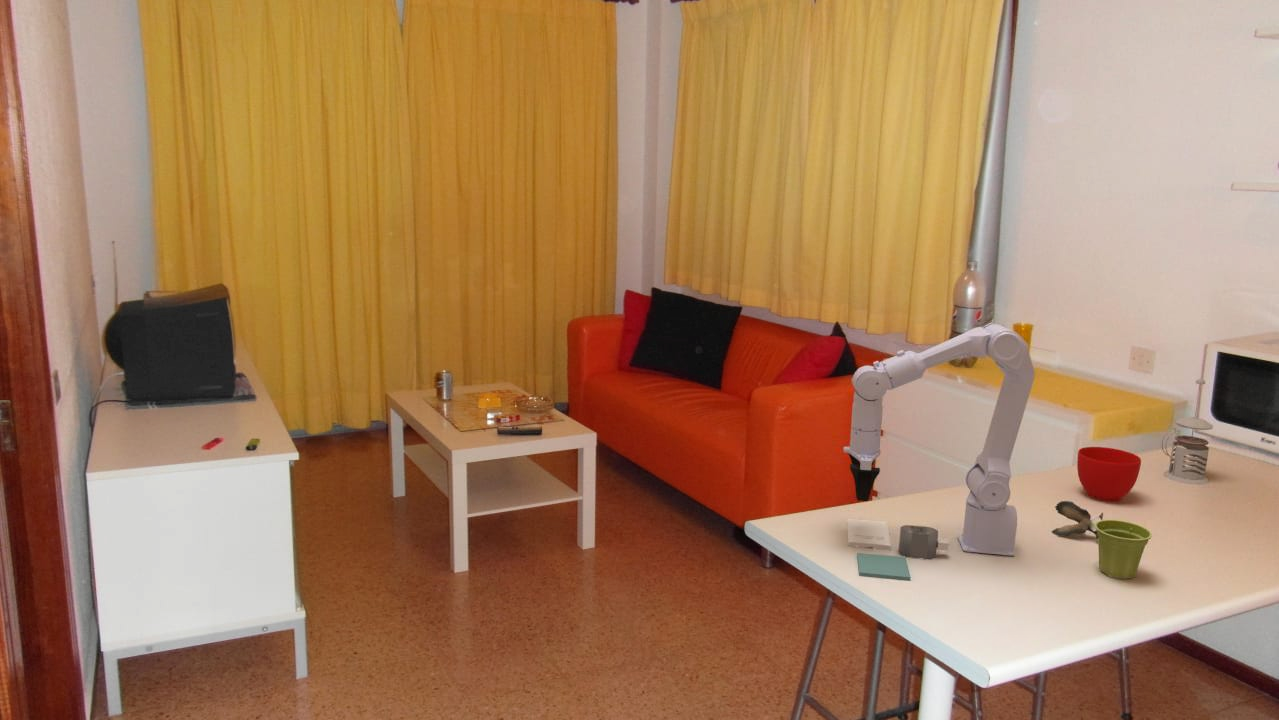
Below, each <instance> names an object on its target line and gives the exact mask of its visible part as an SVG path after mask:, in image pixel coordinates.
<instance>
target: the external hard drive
mask: <svg viewBox="0 0 1279 720" xmlns="http://www.w3.org/2000/svg"><path fill="white" fill-rule="evenodd" d="M846 529H847V531H848V532H847V547H852V546H858V547H857V548H862V547H870V548H869V549H873V548H875V549H876V550H885V551H892V543H891V537H890V531H889V524H888V522H886V521H880V520H879V521H878V520H868V519H856V518H855V519H854V518H848V519H847V520H846Z"/></svg>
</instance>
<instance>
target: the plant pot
mask: <svg viewBox="0 0 1279 720" xmlns="http://www.w3.org/2000/svg"><path fill="white" fill-rule="evenodd" d="M1095 529H1096V530H1097V536H1098V538H1097V542H1098V569H1099V571H1100V572H1103V573H1104V574H1105V575H1106V576H1108V577H1110V576H1111V578H1115V579H1118V578H1119V580H1126V579H1128V578H1130V579H1133V578H1135V577H1136V575H1137V572H1138V569H1139V565H1140V564H1141V563H1140V562H1141V560H1142V556H1143V554H1144V550H1145V547H1146V545H1148V542H1149V540H1150V539H1151V538H1152V537H1153V535H1152V534H1153V533H1152V532H1151V530H1149V529H1148V528H1146V527H1144V526H1142V525H1140V524H1137V523H1134V522H1130V521H1125V520H1119V519H1102V520H1101V521H1098V522H1096V523H1095Z"/></svg>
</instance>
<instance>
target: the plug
mask: <svg viewBox="0 0 1279 720" xmlns="http://www.w3.org/2000/svg"><path fill="white" fill-rule="evenodd" d="M899 529H900V530H899V540H898V549H897V550H898V552H899V553H898V552H897V553H898V554H899V555H900V556H901V557H904V556H905V557H906V558H908V557H912V558H911V559H919V558H923V559H922V560H933V559H936V558H937V550H940V551H949V546H950V542H949V539H948V538H939V530H938V529H936V528H934V527H931V526H923V525H910V524H909V525H902V526H900V528H899Z"/></svg>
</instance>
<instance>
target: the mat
mask: <svg viewBox="0 0 1279 720" xmlns="http://www.w3.org/2000/svg"><path fill="white" fill-rule="evenodd" d="M856 559H857V560H856V561H857V567H858V575H859V576H862V577H869V578H871V577H872V578H881V579H891V580H892V579H893V580H899V581H900V580H902V581H911V573H910V569H909V565H908V561H907V557H904V556H897V555H887V554H875V553H865V552H857V553H856Z"/></svg>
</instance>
